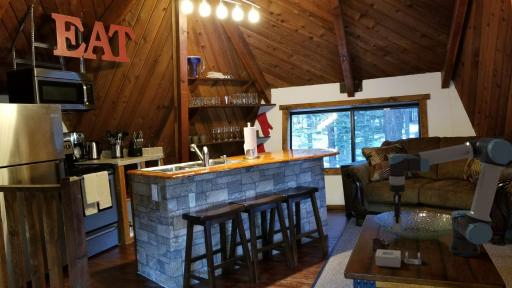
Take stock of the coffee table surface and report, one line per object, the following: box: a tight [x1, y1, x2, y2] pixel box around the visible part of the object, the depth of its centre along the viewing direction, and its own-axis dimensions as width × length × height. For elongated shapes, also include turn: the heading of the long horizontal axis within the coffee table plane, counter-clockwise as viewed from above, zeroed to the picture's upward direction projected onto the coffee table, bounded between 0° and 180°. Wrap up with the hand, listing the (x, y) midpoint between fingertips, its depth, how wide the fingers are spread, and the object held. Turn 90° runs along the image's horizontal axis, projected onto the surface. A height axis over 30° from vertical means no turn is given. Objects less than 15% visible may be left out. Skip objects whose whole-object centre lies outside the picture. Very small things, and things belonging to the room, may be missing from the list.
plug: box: [392, 214, 403, 233], centre depth 208 cm, size 4×3×9 cm
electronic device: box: [372, 237, 391, 252], centre depth 229 cm, size 4×10×8 cm, turn 44°
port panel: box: [374, 249, 402, 268], centre depth 210 cm, size 12×10×6 cm
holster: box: [404, 251, 422, 265], centre depth 209 cm, size 8×6×5 cm
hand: (397, 227), depth 208 cm, fingers closed on plug, 3 cm apart
